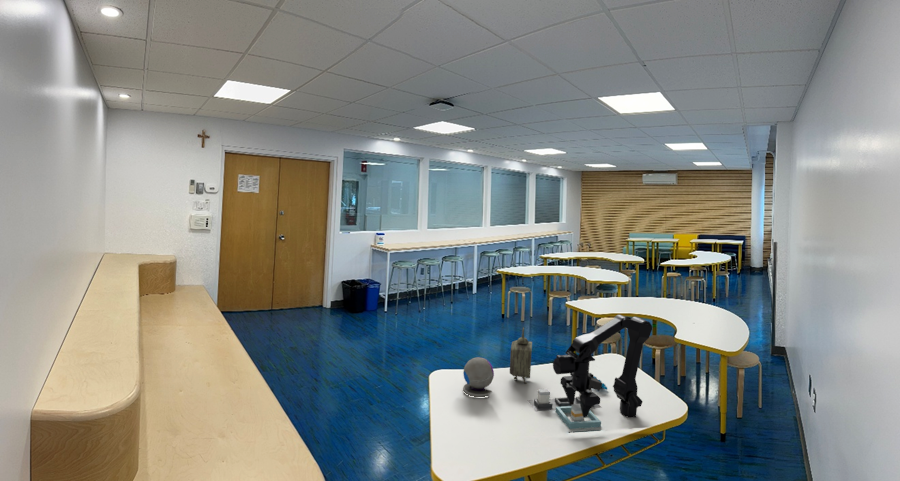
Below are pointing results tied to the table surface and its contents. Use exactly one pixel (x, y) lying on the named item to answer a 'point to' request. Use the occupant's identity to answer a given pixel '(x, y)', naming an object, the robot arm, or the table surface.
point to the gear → (602, 384)
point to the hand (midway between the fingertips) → (578, 411)
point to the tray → (578, 424)
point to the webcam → (478, 377)
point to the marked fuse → (576, 413)
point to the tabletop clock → (521, 358)
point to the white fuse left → (543, 396)
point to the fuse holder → (555, 404)
